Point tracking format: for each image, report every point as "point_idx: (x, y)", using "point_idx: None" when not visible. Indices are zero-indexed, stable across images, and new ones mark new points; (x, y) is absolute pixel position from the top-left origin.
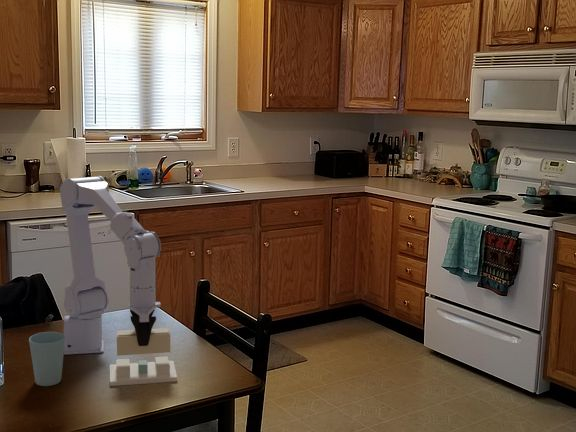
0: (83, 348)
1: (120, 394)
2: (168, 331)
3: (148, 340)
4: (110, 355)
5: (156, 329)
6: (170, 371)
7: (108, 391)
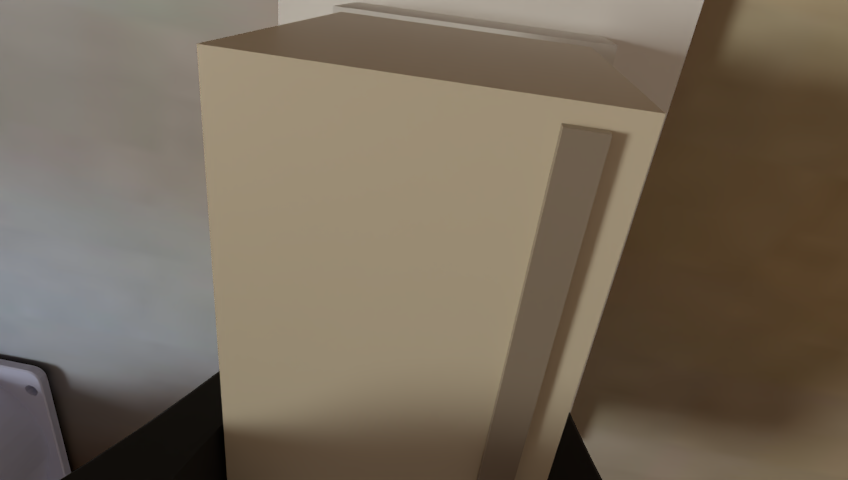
0: (35, 471)
1: (708, 411)
2: (468, 119)
3: (586, 460)
4: (82, 336)
5: (266, 328)
6: (542, 15)
7: (627, 452)
